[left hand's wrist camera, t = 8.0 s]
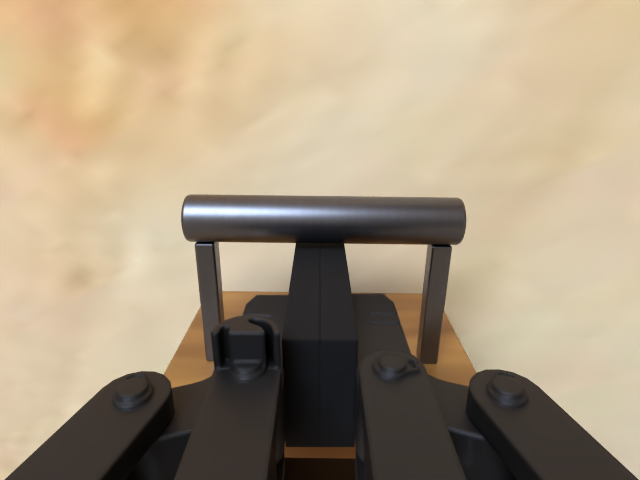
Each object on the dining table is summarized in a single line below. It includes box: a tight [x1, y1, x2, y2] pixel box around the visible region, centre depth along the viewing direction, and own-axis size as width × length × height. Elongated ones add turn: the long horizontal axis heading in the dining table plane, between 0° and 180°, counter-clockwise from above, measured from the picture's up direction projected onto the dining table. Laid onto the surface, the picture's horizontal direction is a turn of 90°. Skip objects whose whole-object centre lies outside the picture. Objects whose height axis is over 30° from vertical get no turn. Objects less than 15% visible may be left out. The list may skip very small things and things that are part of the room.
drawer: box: [164, 195, 476, 480], centre depth 17 cm, size 20×10×8 cm, turn 179°
